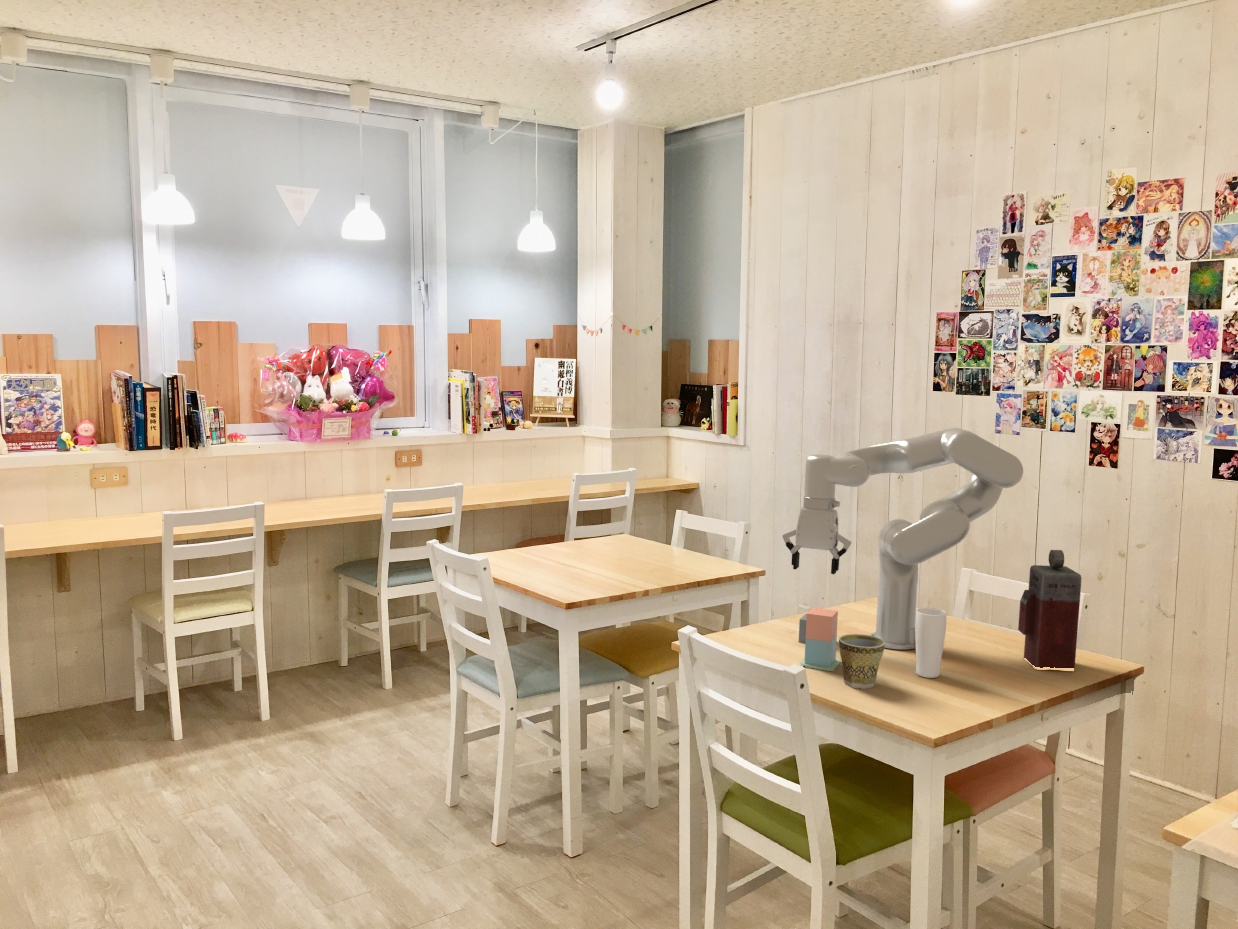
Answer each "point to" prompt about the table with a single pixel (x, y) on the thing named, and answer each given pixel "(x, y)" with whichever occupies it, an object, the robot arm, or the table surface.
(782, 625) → the table surface
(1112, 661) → the table surface
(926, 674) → the drinking glass
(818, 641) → the teal base brick
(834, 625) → the coral brick
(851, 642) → the ceramic cup
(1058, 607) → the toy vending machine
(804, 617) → the charcoal brick
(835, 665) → the green baseplate
